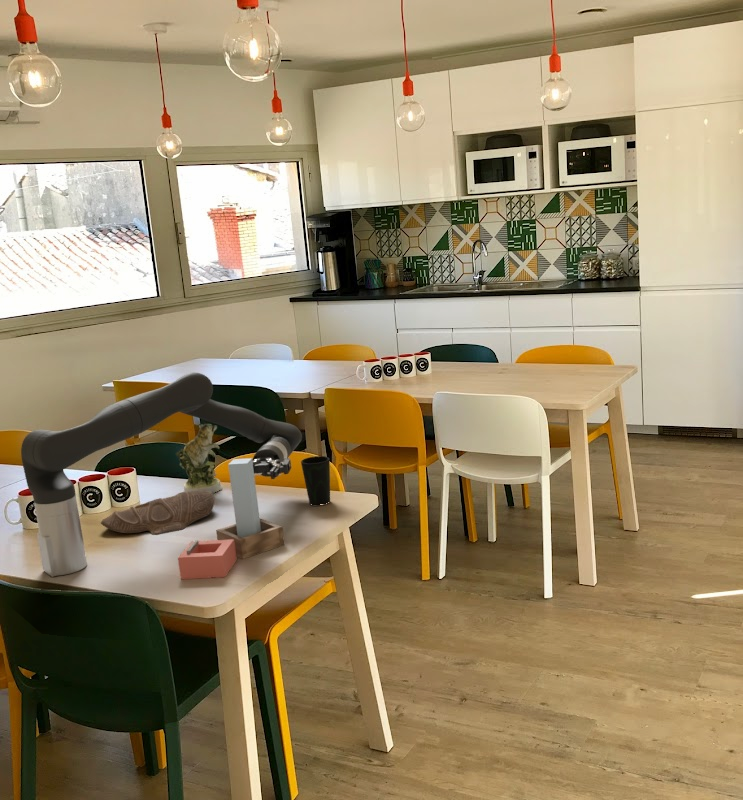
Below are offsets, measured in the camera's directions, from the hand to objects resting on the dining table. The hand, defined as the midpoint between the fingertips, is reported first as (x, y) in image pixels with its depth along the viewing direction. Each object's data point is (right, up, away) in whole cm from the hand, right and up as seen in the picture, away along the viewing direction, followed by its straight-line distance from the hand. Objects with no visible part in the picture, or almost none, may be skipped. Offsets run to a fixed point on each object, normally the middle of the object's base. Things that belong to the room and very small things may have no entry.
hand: (255, 476), depth 223 cm
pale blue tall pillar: (0, -15, -6) cm, 16 cm away
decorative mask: (-28, -14, +21) cm, 38 cm away
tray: (0, -16, -6) cm, 17 cm away
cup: (+15, -9, +23) cm, 29 cm away
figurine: (-21, -8, +46) cm, 51 cm away
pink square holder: (-8, -19, -18) cm, 28 cm away
